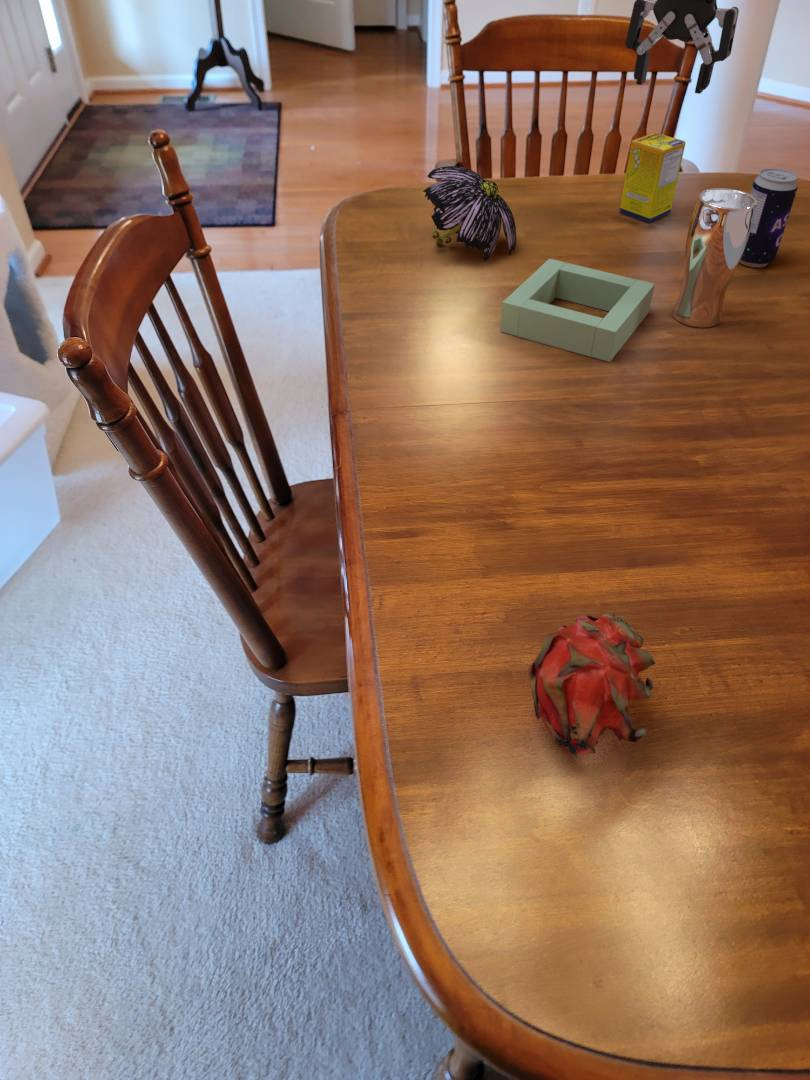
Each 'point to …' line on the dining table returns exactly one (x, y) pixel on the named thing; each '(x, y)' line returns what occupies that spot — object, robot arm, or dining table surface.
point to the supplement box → (651, 177)
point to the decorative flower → (469, 210)
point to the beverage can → (769, 215)
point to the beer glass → (713, 254)
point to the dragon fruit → (590, 681)
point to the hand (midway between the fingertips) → (669, 87)
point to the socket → (572, 329)
